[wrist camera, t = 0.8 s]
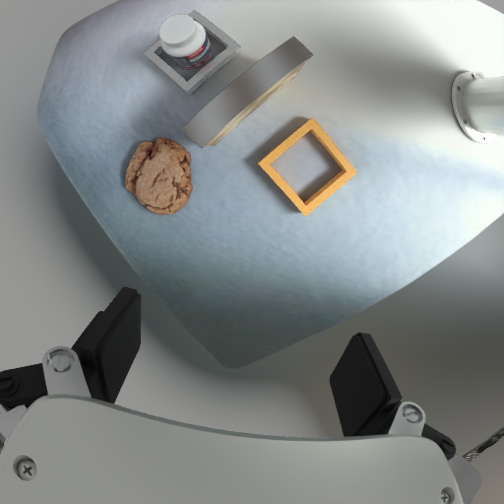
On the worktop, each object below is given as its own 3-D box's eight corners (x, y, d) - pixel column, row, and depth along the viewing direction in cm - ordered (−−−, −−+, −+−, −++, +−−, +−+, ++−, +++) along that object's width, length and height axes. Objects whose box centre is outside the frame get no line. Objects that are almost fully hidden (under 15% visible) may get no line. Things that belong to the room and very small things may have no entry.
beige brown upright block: (282, 65, 29) (293, 36, 19) (296, 79, 30) (313, 54, 20) (202, 133, 33) (181, 129, 23) (216, 147, 34) (200, 148, 24)
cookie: (158, 225, 38) (150, 232, 35) (117, 167, 35) (107, 170, 32) (213, 185, 36) (209, 189, 33) (169, 123, 33) (162, 121, 30)
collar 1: (197, 15, 26) (194, 10, 24) (241, 51, 29) (240, 46, 27) (148, 57, 28) (143, 53, 27) (190, 94, 31) (186, 92, 29)
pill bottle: (199, 75, 30) (183, 55, 22) (167, 61, 29) (143, 41, 21) (220, 44, 28) (210, 17, 20) (187, 31, 27) (170, 5, 19)
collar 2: (309, 119, 32) (312, 117, 30) (351, 171, 34) (356, 172, 33) (257, 162, 34) (258, 163, 33) (302, 212, 37) (305, 216, 35)
